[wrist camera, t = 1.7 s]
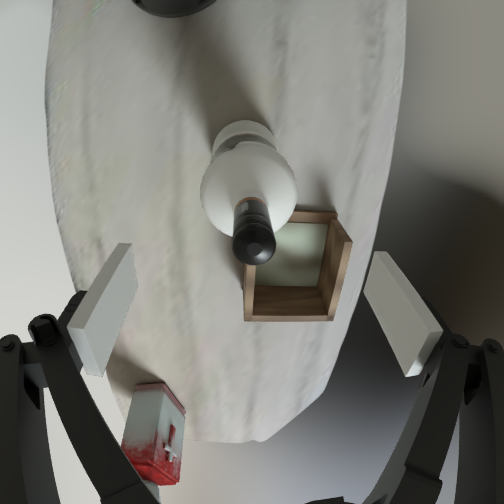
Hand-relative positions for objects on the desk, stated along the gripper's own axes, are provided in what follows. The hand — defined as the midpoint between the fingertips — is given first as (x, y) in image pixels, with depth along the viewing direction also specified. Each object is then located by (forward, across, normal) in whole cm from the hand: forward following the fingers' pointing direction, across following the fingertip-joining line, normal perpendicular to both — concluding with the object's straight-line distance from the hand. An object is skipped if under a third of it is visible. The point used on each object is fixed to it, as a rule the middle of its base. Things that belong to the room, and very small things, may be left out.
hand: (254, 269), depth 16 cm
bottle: (+32, -19, -61) cm, 71 cm away
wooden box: (+32, +8, -17) cm, 37 cm away
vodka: (+32, 0, 0) cm, 32 cm away
